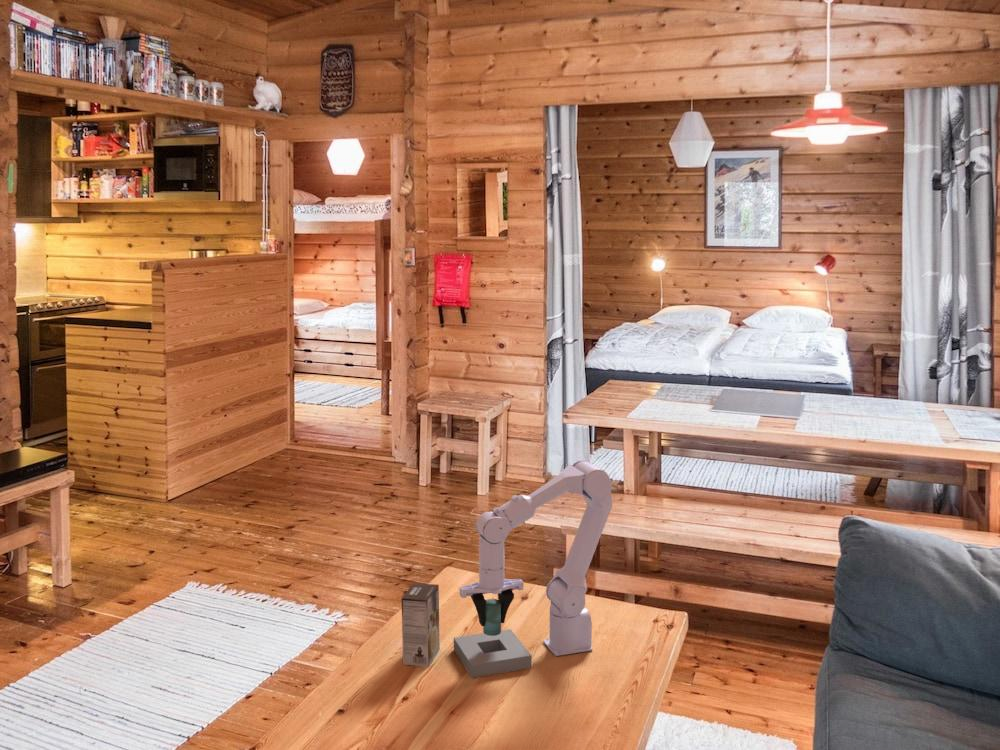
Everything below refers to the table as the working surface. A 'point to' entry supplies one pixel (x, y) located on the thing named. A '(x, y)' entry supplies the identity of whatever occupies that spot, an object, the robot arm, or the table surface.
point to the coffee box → (420, 624)
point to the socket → (492, 653)
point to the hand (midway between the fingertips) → (491, 622)
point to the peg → (492, 617)
